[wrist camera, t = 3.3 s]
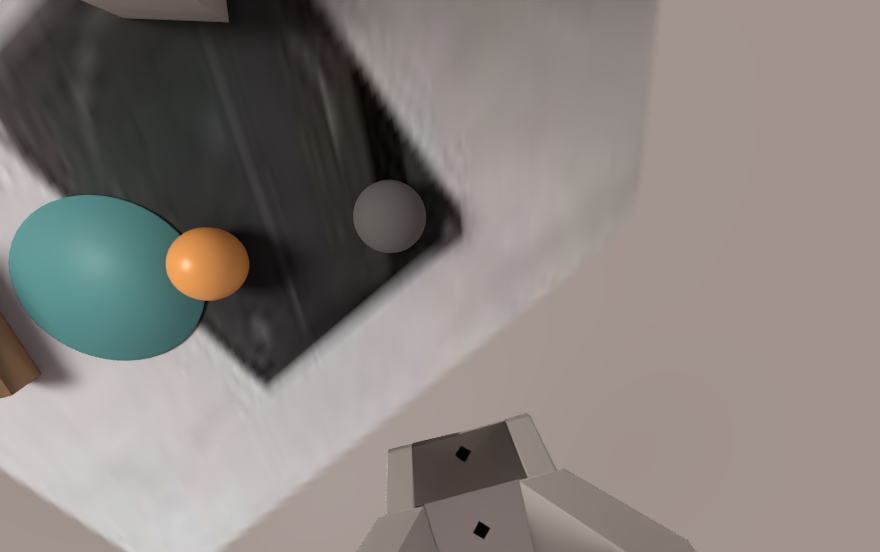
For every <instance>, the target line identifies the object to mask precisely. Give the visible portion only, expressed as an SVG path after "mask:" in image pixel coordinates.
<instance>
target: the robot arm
mask: <svg viewBox="0 0 880 552" xmlns="http://www.w3.org/2000/svg"><path fill="white" fill-rule="evenodd" d="M356 552H696V551H695V549H694V548H693V547H692V545H691V544H690V542H689V541H688V540H686V539H685V538H683V537H681V536H680V535H678V534H676V533H674V532H673V531H671V530H669V529H667V528H666V527H664V526H662V525H661V524H659V523H657V522H656V521H654V520H651V519H650V518H649V517H647V516H645V515H643V514H642V513H640V512H638V511H637V510H635V509H633V508H631V507H630V506H628V505H626V504H624V503H623V502H621V501H619V500H618V499H616V498H614V497H612V496H611V495H609V494H607V493H605V492H604V491H602V490H600V489H599V488H597V487H595V486H593V485H592V484H590V483H588V482H587V481H585V480H583V479H581V478H580V477H578V476H576V475H575V474H573V473H571V472H569V471H568V470H566V469H561V470H556V468H555V466H554V464H553V461H552V459H551V457H550V455H549V453H548V451H547V449H546V447H545V445H544V443H543V441H542V439H541V437H540V435H539V433H538V431H537V429H536V427H535V425H534V423H533V420H532V418H531V416H530V415H529V414H527V413H526V414H522V415H518V416H515V417H511V418H508V419H505V421H499V422H496V423H492V424H488V425H485V426H481V427H477V428H473V429H470V430H466V431H463V432H458V433H454V434H450V435H446V436H441V437H437V438H433V439H429V440H424V441H420V442H416V443H413V444H409V445H405V446H401V447H397V448H393V449H389V451H388V453H387V470H386V514H385V516H384V517H380V518H378V519H377V520H376V522H375V523H374V525H373V526H372V528H371V530H370V531H369V533H368V534H367V536H366V537H365V539H364V540H363V542H362V543H361V545H360V546H359V548H358V549H357V551H356Z"/></svg>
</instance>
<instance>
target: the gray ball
mask: <svg viewBox="0 0 880 552" xmlns="http://www.w3.org/2000/svg"><path fill="white" fill-rule="evenodd" d="M353 219H354V225H355V228H356V231H357V233H358V235H359V236H360V238H361V239H362V240H363V241H364V242H365V243H366V244H367V245H368V246H369V247H371V248H373V249H375V250H377V251H380V252H385V253H396V252H400V251H403V250H406V249H408V248H409V247H411V246H412V245H413V244H414V243H416V241H417V240H418V239H419V238H420V236H421V234H422V232H423V230H424V227H425V223H426V212H425V207H424V204H423V202H422V199H421V198H420V196H419V195H418V194H417V192H416V191H415V190H413V189H412V188H411V187H410V186H408V185H406V184H404V183H402V182H399V181H395V180H383V181H379V182H376V183H374V184H372V185H370V186H369V187H367V188H366V189H365V190H364V191H363V192H362V193H361V194H360V196H359V197H358V199H357V201H356V203H355V207H354V212H353Z"/></svg>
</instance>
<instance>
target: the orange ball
mask: <svg viewBox="0 0 880 552" xmlns="http://www.w3.org/2000/svg"><path fill="white" fill-rule="evenodd" d="M166 271H167V275H168V277H169V279H170V281H171V282H172V284H173V285H174V286H175V287H176V288H177V289H178V290H179V291H180V292H182V293H183V294H185V295H187V296H189V297H191V298H194V299H198V300H204V301H211V300H218V299H222V298H225V297H227V296H229V295H231V294H233V293H234V292H235V291H237V290H238V289H239V288H240V287H241V286H242V284H243V283H244V281H245V280H246V277H247V275H248V271H249V258H248V254H247V251H246V249H245V247H244V246H243V244H242V243H241V242H240V241H239V240H238V239H237V238H236V237H235V236H233V235H232V234H230V233H229V232H226V231H224V230H221V229H218V228H213V227H202V228H196V229H193V230H190V231H187V232H185V233H184V234H182V235H181V236H179V237H178V238H177V239H176V240H175V241H174V242H173V243H172V245H171V246H170V248H169V250H168V253H167V256H166Z"/></svg>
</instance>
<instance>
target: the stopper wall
mask: <svg viewBox="0 0 880 552" xmlns="http://www.w3.org/2000/svg"><path fill="white" fill-rule="evenodd" d="M40 375H41V373H40V372H39V370H38V369H37V367H36V366H35V364H34V363H33V361H32V360H31V358H30V357H29V355H28V354H27V352H26V351H25V349H24V348H23V346H22V345H21V343H20V342H19V340H18V339H17V337H16V336H15V334H14V333H13V331H12V330H11V328H10V327H9V325H8V324H7V322H6V321H5V319H4V318H3V316H2V315H1V313H0V398H4V397H7V396H11V395H13V394H15V393H16V392H17V391H19V390H20V389H21V388H23V387H24V386H26V385H27V384H28V383H30V382H31V381H33V380H34V379H35V378H37V377H38V376H40Z"/></svg>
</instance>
